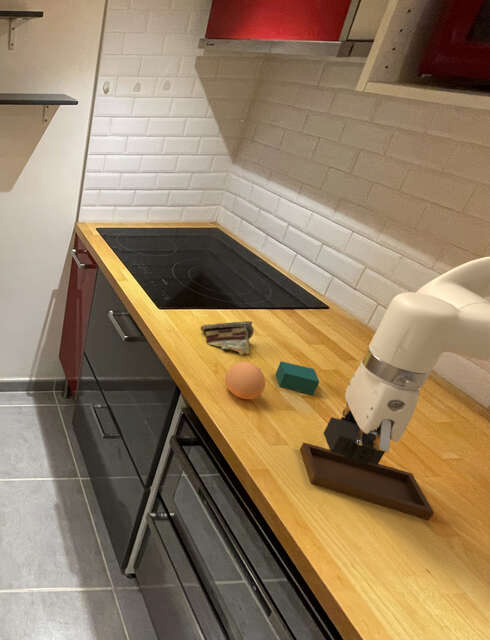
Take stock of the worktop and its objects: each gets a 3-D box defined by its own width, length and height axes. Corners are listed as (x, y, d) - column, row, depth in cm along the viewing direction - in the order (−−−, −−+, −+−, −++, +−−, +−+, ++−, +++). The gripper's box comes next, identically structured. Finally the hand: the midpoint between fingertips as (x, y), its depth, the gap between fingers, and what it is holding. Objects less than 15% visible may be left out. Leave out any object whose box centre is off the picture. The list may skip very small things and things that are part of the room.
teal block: (307, 382, 104) (313, 368, 102) (313, 395, 100) (319, 381, 98) (275, 374, 106) (280, 361, 104) (279, 386, 102) (284, 373, 100)
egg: (219, 379, 104) (229, 350, 101) (256, 389, 101) (267, 359, 98) (222, 400, 98) (233, 370, 94) (261, 411, 95) (273, 380, 92)
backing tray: (407, 480, 81) (412, 473, 80) (428, 520, 74) (434, 512, 73) (299, 449, 86) (303, 442, 86) (310, 483, 80) (314, 476, 79)
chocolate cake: (197, 347, 116) (245, 333, 107) (197, 326, 120) (242, 312, 112) (220, 368, 118) (268, 357, 109) (218, 347, 122) (264, 335, 114)
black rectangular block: (367, 445, 79) (376, 428, 78) (377, 465, 76) (387, 449, 74) (323, 433, 82) (331, 416, 80) (330, 452, 78) (339, 435, 76)
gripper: (453, 411, 63) (397, 497, 70) (400, 343, 77) (358, 421, 84) (386, 394, 65) (339, 479, 73) (347, 331, 79) (311, 408, 87)
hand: (350, 447), depth 78 cm, fingers closed on black rectangular block, 4 cm apart
